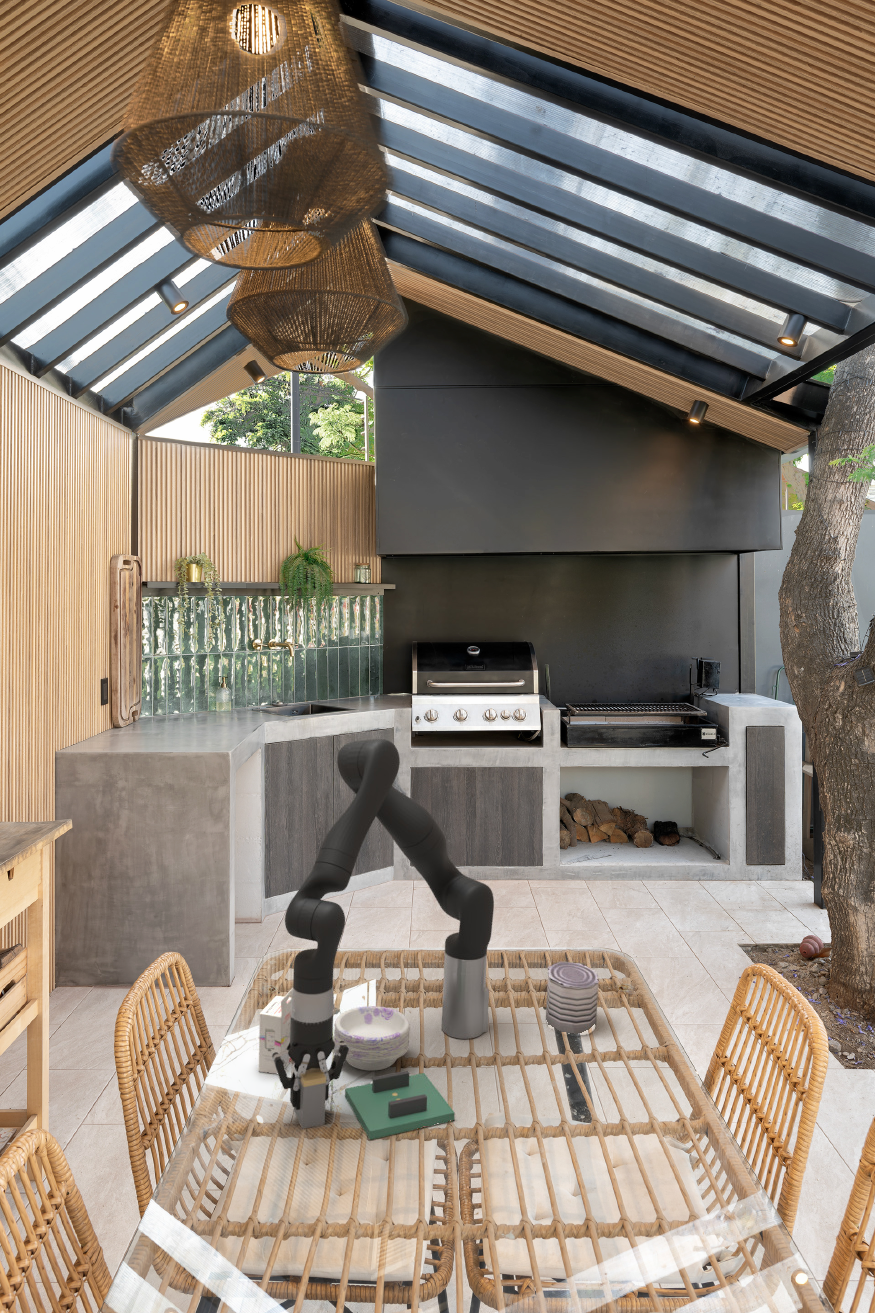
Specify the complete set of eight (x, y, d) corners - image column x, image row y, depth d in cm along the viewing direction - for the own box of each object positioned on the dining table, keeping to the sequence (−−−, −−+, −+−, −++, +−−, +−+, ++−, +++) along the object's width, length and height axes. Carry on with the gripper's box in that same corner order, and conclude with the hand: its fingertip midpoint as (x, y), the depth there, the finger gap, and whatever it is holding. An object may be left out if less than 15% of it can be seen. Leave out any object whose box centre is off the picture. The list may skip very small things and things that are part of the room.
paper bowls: (397, 1036, 181) (398, 1000, 181) (417, 1074, 167) (419, 1034, 166) (326, 1045, 176) (328, 1008, 176) (341, 1084, 162) (342, 1044, 162)
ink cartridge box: (274, 1050, 174) (276, 980, 173) (296, 1053, 173) (299, 983, 172) (256, 1072, 165) (259, 998, 164) (280, 1075, 164) (283, 1001, 163)
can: (590, 1013, 196) (593, 962, 195) (601, 1037, 184) (604, 983, 184) (541, 1012, 195) (543, 961, 195) (549, 1036, 184) (551, 982, 183)
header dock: (423, 1080, 164) (424, 1060, 164) (454, 1120, 152) (455, 1099, 151) (344, 1096, 158) (345, 1075, 158) (369, 1140, 145) (370, 1117, 145)
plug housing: (315, 1105, 155) (316, 1060, 154) (324, 1124, 149) (326, 1077, 149) (293, 1110, 153) (295, 1064, 153) (302, 1129, 147) (303, 1081, 147)
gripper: (344, 996, 156) (341, 1086, 157) (267, 1007, 151) (264, 1101, 151) (357, 1014, 150) (353, 1108, 150) (277, 1027, 144) (274, 1125, 145)
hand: (309, 1104), depth 151 cm, fingers closed on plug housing, 4 cm apart
